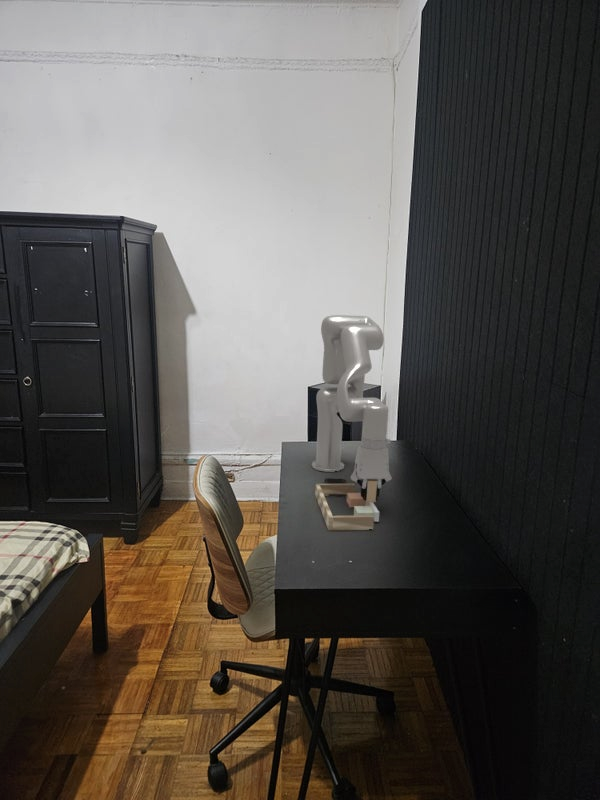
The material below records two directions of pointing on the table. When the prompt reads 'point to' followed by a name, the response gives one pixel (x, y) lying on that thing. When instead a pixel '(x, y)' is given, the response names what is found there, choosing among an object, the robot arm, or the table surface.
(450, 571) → the table surface
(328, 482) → the phone
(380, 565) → the table surface
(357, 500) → the terracotta tile
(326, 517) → the box
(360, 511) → the pale green square block
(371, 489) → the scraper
